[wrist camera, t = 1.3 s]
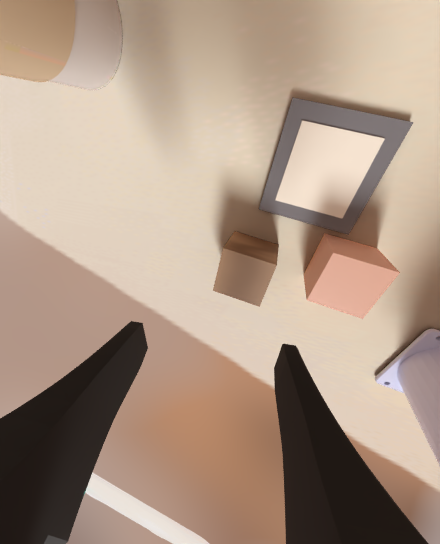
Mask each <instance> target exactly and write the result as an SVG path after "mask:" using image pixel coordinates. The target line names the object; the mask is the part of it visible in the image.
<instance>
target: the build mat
mask: <svg viewBox="0 0 440 544" xmlns="http://www.w3.org/2000/svg"><path fill="white" fill-rule="evenodd" d="M412 124H413V122H409V121H404V120H400V119H395V118H390V117H385V116H380V115H375V114H370V113H366V112H361V111H356V110H351V109H346V108H341V107H337V106H332V105H327V104H322V103H317V102H312V101H308V100H303V99H298V98H292V101H291V105H290V108H289V111H288V115H287V118H286V121H285V124H284V128H283V131H282V134H281V138H280V141H279V144H278V147H277V151H276V154H275V157H274V161H273V164H272V167H271V170H270V174H269V177H268V180H267V184H266V187H265V190H264V193H263V197H262V200H261V203H260V207H259V209H260V210H263V211H267V212H270V213H274V214H277V215H281V216H284V217H288V218H291V219H295V220H298V221H302V222H305V223H309V224H313V225H316V226H320V227H323V228H327V229H330V230H334V231H337V232H341V233H344V234H348V235H349V233H350V232H351V230H352V228H353V226H354V225H355V223H356V221H357V219H358V218H359V216H360V214H361V212H362V211H363V209H364V207H365V206H366V204H367V202H368V200H369V199H370V197H371V195H372V193H373V192H374V190H375V188H376V186H377V185H378V183H379V181H380V180H381V178H382V176H383V174H384V173H385V171H386V169H387V167H388V166H389V164H390V162H391V160H392V159H393V157H394V155H395V154H396V152H397V150H398V148H399V147H400V145H401V143H402V141H403V140H404V138H405V136H406V135H407V133H408V131H409V129H410V128H411V126H412Z"/></svg>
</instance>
